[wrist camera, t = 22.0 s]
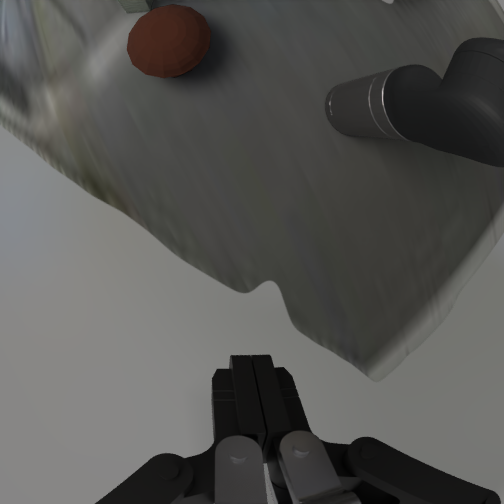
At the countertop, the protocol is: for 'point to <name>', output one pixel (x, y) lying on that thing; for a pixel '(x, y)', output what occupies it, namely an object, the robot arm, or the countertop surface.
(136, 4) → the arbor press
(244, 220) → the countertop surface
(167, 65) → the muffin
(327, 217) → the countertop surface
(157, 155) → the countertop surface
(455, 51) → the robot arm
